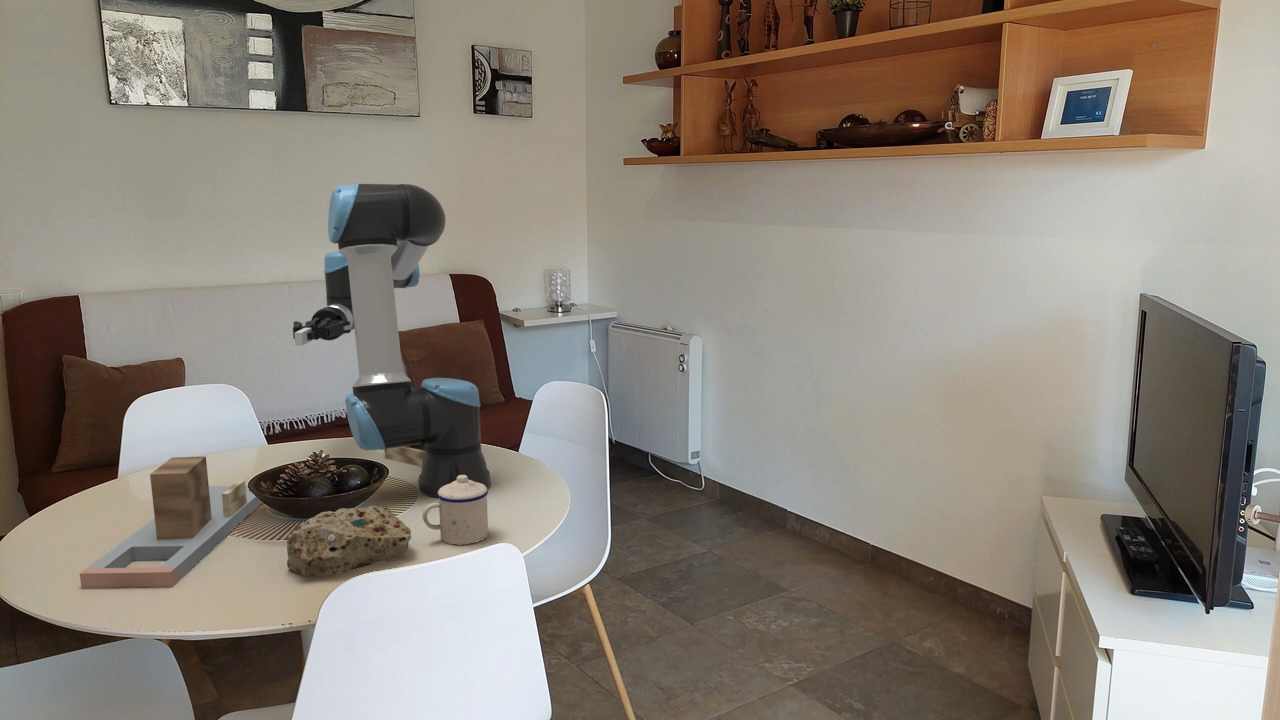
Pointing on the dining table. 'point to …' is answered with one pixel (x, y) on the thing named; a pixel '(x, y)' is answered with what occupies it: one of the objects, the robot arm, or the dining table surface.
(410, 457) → the oak coaster frame
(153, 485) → the walnut block
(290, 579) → the dining table surface
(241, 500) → the beech tunnel walls
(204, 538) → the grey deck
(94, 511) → the dining table surface
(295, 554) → the rock
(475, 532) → the teacup with lid
